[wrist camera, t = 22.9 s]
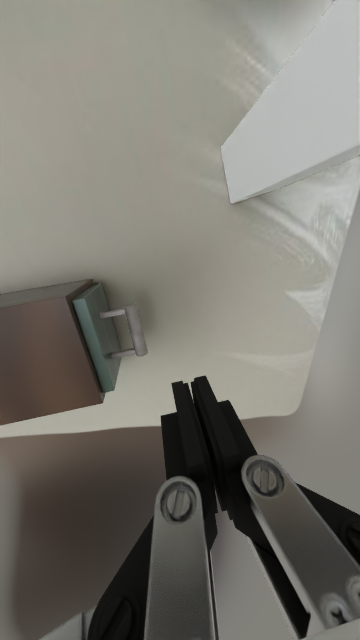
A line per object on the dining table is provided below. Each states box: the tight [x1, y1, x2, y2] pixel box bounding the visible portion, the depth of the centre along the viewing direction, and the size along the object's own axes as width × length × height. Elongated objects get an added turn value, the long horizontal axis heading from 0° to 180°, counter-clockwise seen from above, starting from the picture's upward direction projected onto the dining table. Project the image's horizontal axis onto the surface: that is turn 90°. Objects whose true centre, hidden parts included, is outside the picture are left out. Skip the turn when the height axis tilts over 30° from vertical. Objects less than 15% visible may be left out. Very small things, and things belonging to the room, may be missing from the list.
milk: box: [221, 0, 360, 204], centre depth 15 cm, size 6×6×22 cm
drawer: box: [71, 283, 148, 393], centre depth 24 cm, size 17×10×8 cm, turn 98°
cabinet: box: [0, 279, 106, 425], centre depth 24 cm, size 14×12×10 cm
